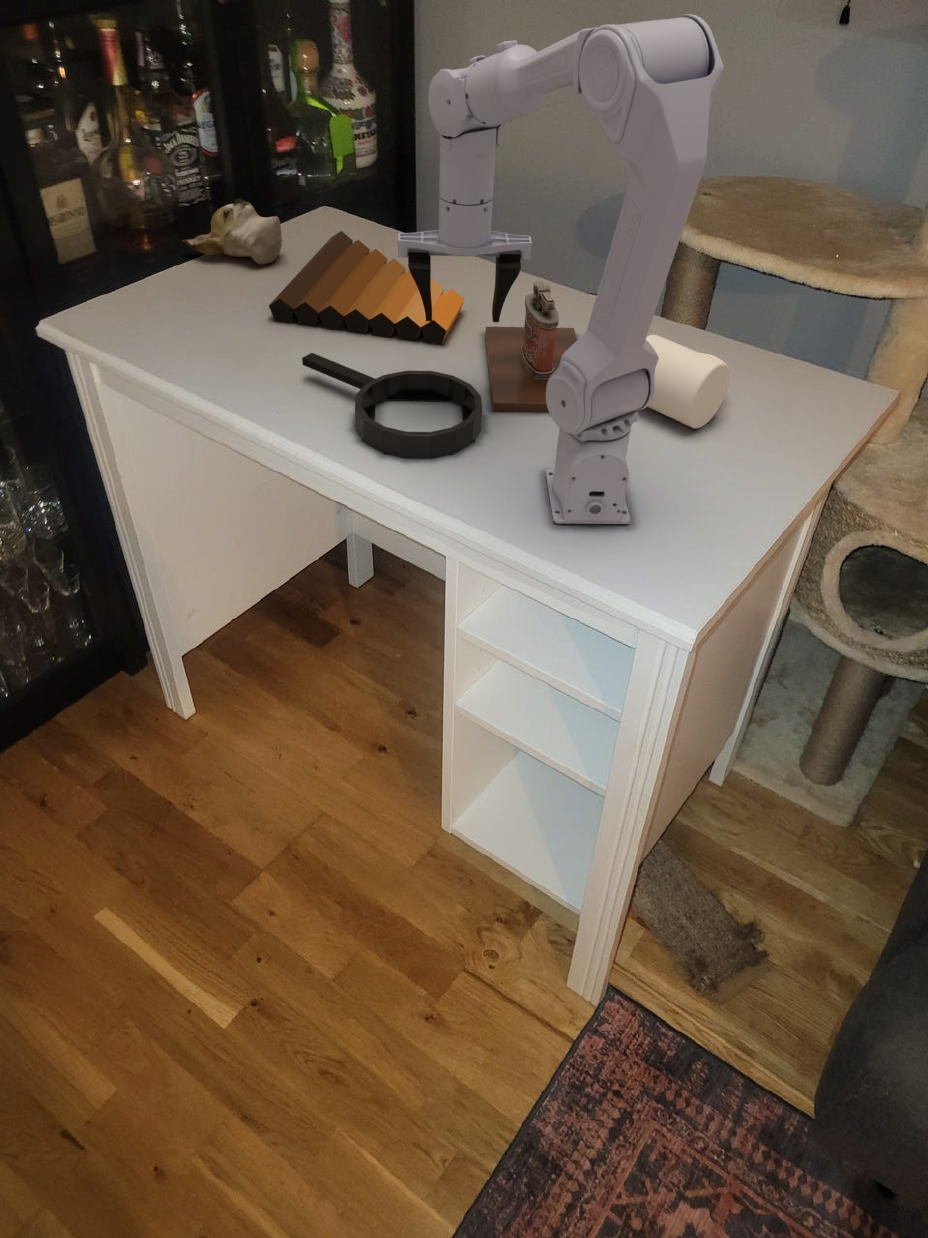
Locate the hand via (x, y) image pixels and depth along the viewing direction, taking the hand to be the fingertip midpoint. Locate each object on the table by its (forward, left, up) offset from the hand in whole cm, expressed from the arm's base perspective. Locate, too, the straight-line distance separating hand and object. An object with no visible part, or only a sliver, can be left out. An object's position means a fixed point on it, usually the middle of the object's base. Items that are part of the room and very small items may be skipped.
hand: (462, 317), depth 110 cm
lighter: (+7, -10, -9) cm, 15 cm away
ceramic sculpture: (+42, +32, -11) cm, 54 cm away
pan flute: (+29, +10, -11) cm, 32 cm away
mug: (-1, -27, -11) cm, 29 cm away
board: (+7, -10, -10) cm, 16 cm away
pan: (-4, +9, -10) cm, 14 cm away
